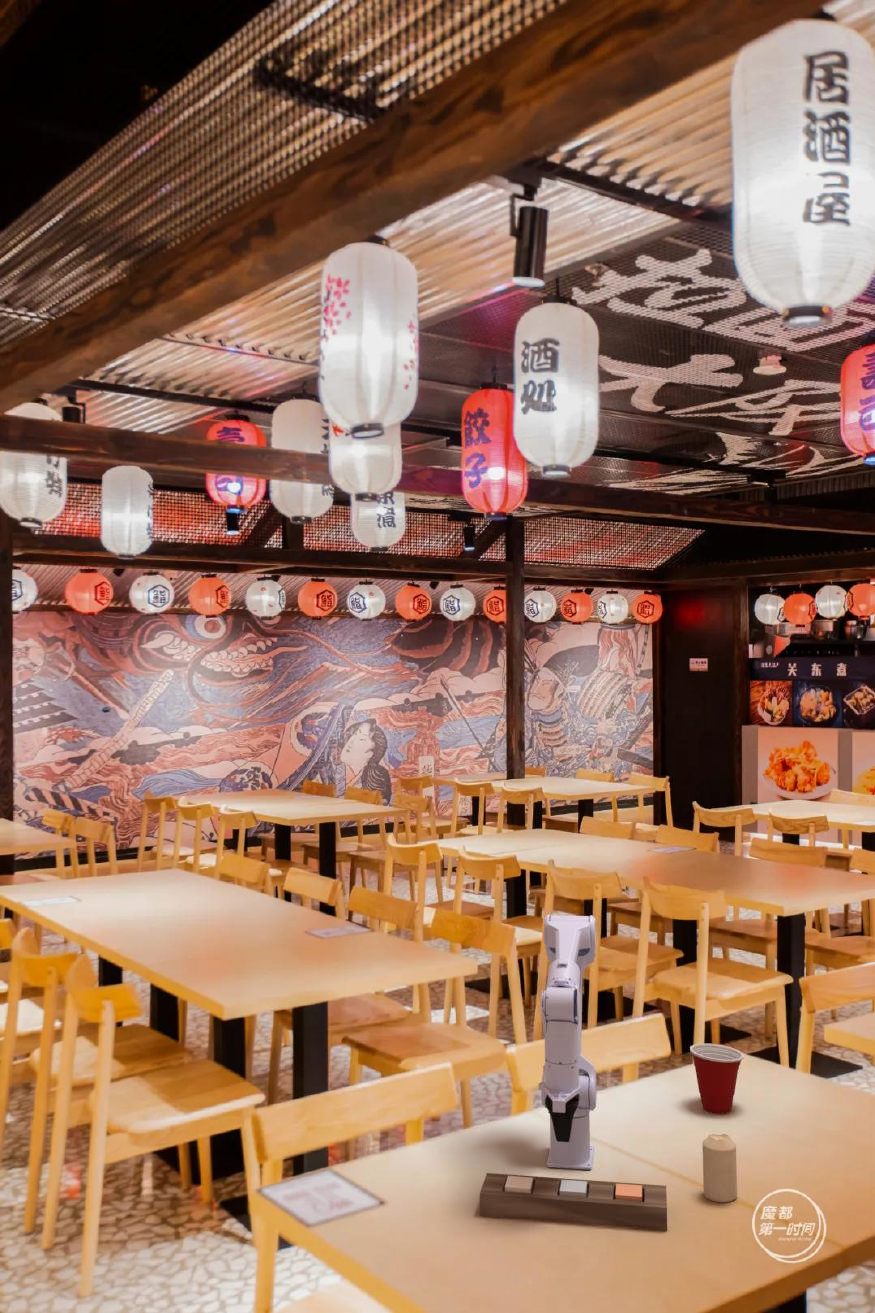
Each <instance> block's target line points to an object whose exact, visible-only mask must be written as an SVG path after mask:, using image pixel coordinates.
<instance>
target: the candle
mask: <svg viewBox="0 0 875 1313" xmlns="http://www.w3.org/2000/svg"><path fill="white" fill-rule="evenodd" d="M737 1168H738V1167H737V1144H736V1143H735V1142H734V1140H733V1139H732V1138H731V1136H729V1135H728V1134H727V1133H722V1134H716V1133H712V1134H709V1135H708V1136H707V1137H706V1138H705V1139H703V1141H702V1174H703V1176H702V1178H703V1179H702V1181H703V1195H704V1197H705V1198H706V1199H708V1200H711V1201H714V1202H717V1203H730V1202H731V1203H732V1202H733V1200H734V1199H735V1200H737V1198H738V1172H737ZM735 1200H734V1201H735Z"/></svg>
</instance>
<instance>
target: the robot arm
mask: <svg viewBox="0 0 875 1313" xmlns="http://www.w3.org/2000/svg"><path fill="white" fill-rule="evenodd" d="M543 941H544V947H545V953H546V956H547V961H549V962H550V964H549V966H548V969H547V970H548V971H547V978H546V986H545V990H543V989H542V990H541V993H540V994H541V995H540V1014H541V1021H542V1033H544V1065H543V1067H542V1068H543V1070H542V1077H541V1082H538V1086H537V1088H538V1090H539V1091H541V1104H542V1106H543V1107H544V1108H545V1109H547V1111H548V1114H549V1130H550V1131H549V1134H550V1135H549V1137H550V1143H549V1144H550V1148H549V1152H548V1157H547V1161H546V1166H547V1168H562V1169H572V1170H573V1169H576V1170H588V1171H589V1170H592V1168H593V1159H594V1150H595V1148H594V1146H593V1145H591V1136H590V1135H591V1132H590V1130H591V1128H590V1122H591V1121H590V1113H591V1111H595V1109H596V1107H597V1099H598V1098H597V1096H598V1095H597V1091H598V1090H597V1086H598V1085H597V1073H596V1072H597V1071H596V1068H595V1066H594V1064H593V1063H592V1062H591V1061H590V1060H588V1058H586V1057H585V1056H584V1055H583V1054H582V1036H583V1035H582V1031H583V1030H582V1029H583V1028H582V1026H583V1022H582V1021H583V1014H582V1013H583V978H584V975H585V970H586V967H587V966H588V965H591V964H592V963H595V957H596V950H597V947H596V946H597V945H596V944H597V919H596V917H594V915H589V916H588V915H560V914H559V915H558V914H557V915H556V914H553V915H552V914H550V913H549V914H547V915H546V916H545V917H544V921H543Z"/></svg>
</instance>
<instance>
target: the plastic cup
mask: <svg viewBox="0 0 875 1313" xmlns="http://www.w3.org/2000/svg"><path fill="white" fill-rule="evenodd" d="M689 1048H690V1049H689V1050H690V1053H691V1056H692V1058H693V1065H694V1069H695V1074H696V1082H697V1087H698V1092H699V1096H700V1102H701V1106H702V1110H704V1111H705V1112H707V1113H711V1114H715V1115H722V1113H725V1114H728V1113H727V1112H729V1113H730V1112H731V1111H732V1108H733V1104H734V1102H733V1101H734V1096H735V1092H736V1087H737V1086H736V1085H737V1079H738V1074H739V1072H738V1071H739V1070H740V1069H739V1068H740V1066H741V1062H742V1060H743V1059H744V1058H745V1056H744V1053H743V1052H742V1051H740V1050H739V1049H737V1048H733V1047H731V1046H727V1045H723V1044H715V1043H703V1042H702V1043H696V1044H693V1045H690V1047H689Z"/></svg>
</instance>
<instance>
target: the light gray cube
mask: <svg viewBox="0 0 875 1313" xmlns="http://www.w3.org/2000/svg"><path fill="white" fill-rule="evenodd" d="M560 1196H572V1197H586V1198H587V1181H573V1180H562V1181H561V1186H560Z"/></svg>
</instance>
